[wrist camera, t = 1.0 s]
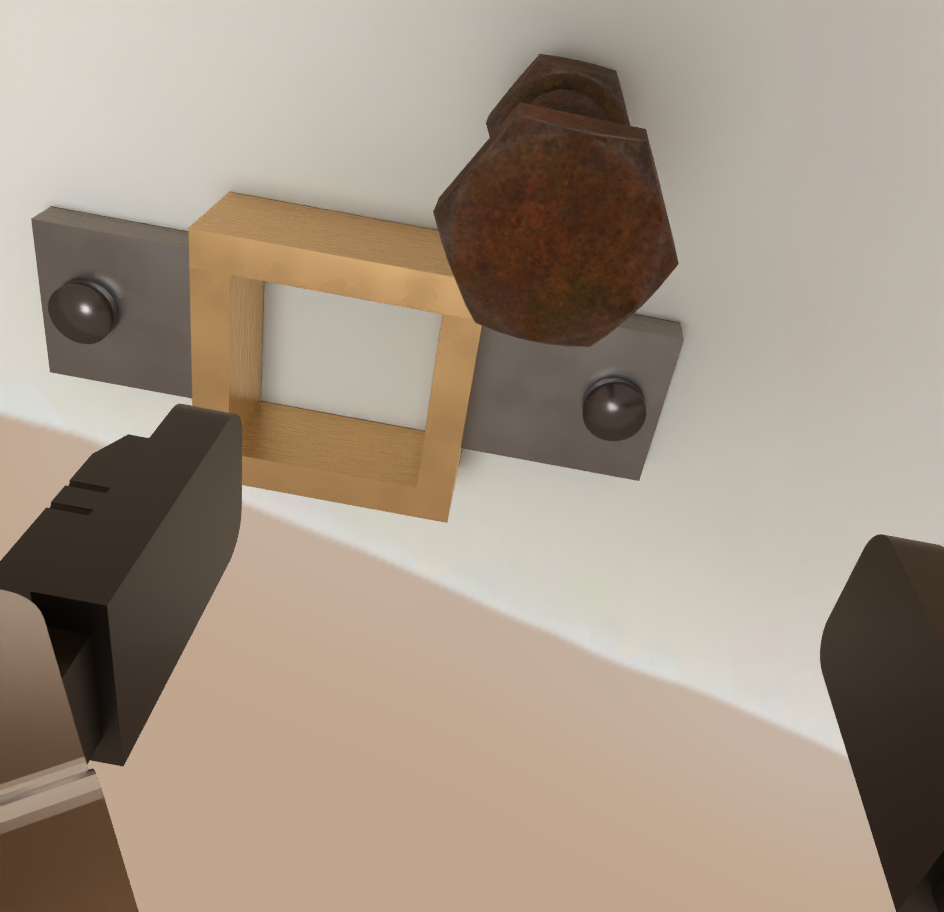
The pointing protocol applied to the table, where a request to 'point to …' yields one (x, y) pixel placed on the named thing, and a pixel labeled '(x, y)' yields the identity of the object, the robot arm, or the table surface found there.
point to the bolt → (558, 211)
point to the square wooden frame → (343, 273)
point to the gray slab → (115, 300)
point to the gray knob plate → (574, 397)
